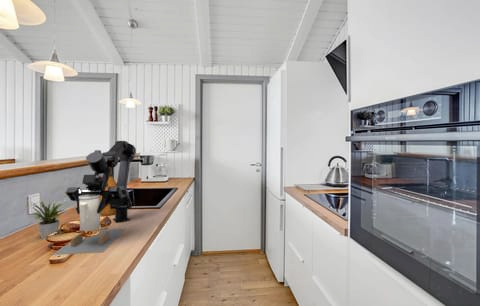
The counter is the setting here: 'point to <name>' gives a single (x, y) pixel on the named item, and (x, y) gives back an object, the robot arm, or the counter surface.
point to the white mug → (89, 212)
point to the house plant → (48, 219)
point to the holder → (91, 242)
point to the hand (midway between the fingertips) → (88, 213)
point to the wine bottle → (107, 209)
